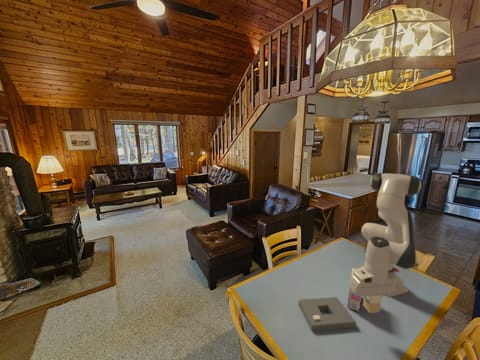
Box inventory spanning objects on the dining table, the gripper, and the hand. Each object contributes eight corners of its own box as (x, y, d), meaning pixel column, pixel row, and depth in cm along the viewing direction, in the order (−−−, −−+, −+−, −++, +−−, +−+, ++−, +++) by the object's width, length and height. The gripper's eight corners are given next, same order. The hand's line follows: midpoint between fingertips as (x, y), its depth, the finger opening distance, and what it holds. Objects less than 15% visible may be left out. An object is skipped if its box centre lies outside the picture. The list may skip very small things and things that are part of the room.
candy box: (359, 312, 106) (363, 284, 103) (347, 308, 109) (350, 280, 106) (360, 296, 117) (363, 270, 114) (349, 292, 120) (352, 267, 118)
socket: (336, 301, 113) (336, 295, 112) (355, 327, 97) (356, 320, 97) (298, 304, 111) (298, 298, 110) (311, 330, 95) (312, 323, 94)
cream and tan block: (371, 304, 95) (373, 287, 94) (379, 312, 91) (381, 294, 89) (362, 305, 95) (364, 288, 93) (369, 313, 91) (372, 295, 89)
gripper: (390, 267, 94) (387, 293, 96) (349, 270, 92) (346, 297, 94) (402, 276, 88) (398, 304, 90) (358, 280, 86) (355, 308, 88)
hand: (371, 300), depth 92 cm, fingers closed on cream and tan block, 4 cm apart
